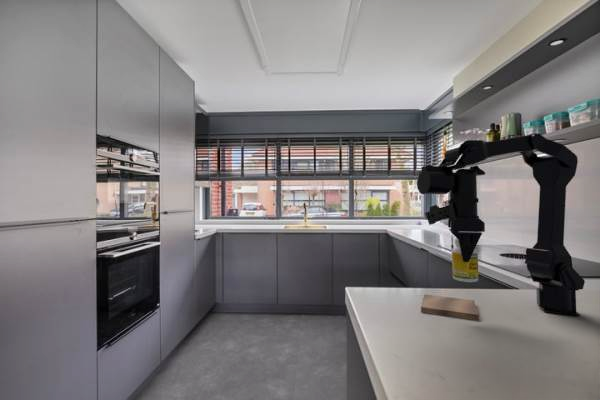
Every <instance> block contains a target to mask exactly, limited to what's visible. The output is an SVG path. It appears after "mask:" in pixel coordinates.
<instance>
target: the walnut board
mask: <svg viewBox="0 0 600 400" xmlns="http://www.w3.org/2000/svg"><path fill="white" fill-rule="evenodd" d="M420 312H421V313H425V312H429V313H428V314H432V313H435V314H434V315H439V314H440V316H448V317H455V318H461V319H462V318H463V319H467V320H475V321H479V312H478V309H477V306H476V302H475V300H474V299H468V298H460V297H459V298H458V297H449V296H442V295H441V296H440V295H433V294H424V295H423V298H422V300H421V305H420Z"/></svg>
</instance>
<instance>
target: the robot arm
mask: <svg viewBox="0 0 600 400" xmlns="http://www.w3.org/2000/svg"><path fill="white" fill-rule="evenodd" d="M534 150H536V151H537V152H540V154H537V153H535V152H534ZM515 153H519V154H521V155H522V159H523V162H524V163H525V164H526V165H528V166H529V167H530V168H531V169H532V176H533V178H534V180H535V181H536V182H537V184H538V186H539V200H538V220H537V221H538V222H537V238H536V243H535V244H534V245H533V247H532V248H531V247H527V248H526V249H525V261H524V264H526V269H527V271H528V272H529V274H530V278H531V280H532V282H534V283H538V287H537V288H536V305H537V306H539V308H540V309H541V310H542V311H543V313H544V312H546V313H551V314H559V315H567V316H573V317H574V316H575V317H579V316H580V315H581V314H580V312H578V311H577V297H576V296H577V294H576V293H577V292H576V291H579V290H583V289H584V286H585V283H586V280H585V279H584V278H583V277H582V276H581V275H580V274H579V273H578V272H577V270H576V269H574V268H573V258H572V256H571V254H570V252H569V251H568V250H567V248H566V246H565V245H564V240H565V238H564V237H565V217H566V200H567V199H566V198H567V197H566V196H567V186H568V184H570V182H571V181H572V180H573V179H574V178H575V176H576V174H577V173H576V172H577V168H578V163H579V161H578V155H577V154H575V153H574V152H573V151H572V150H571V149H570V148H568V147H567V146H566V145H565V144H562V143H560V142H556V141H554V140H551V139H548V138H546V137H545V136H543V135H542V134H541V133H536V132H533V133H530V134H525V135H521V136H516V137H511V138H509V137H508V138H503V139H498V140H492V141H485V140H481V139H467V140H464V141H462V142H459V143H456V144H453V145H450V146H448V147H447V148H446V149H445V151H444V157H443V158H442V160H441V161H440V162H439V164H438V165H432V164H426V165H423V166H422V167H421V172H419V174H418V177H417V181H416V188H417V190H418V192H419V193H420V194H421V195H447V194H449V200H447V205H444V206H441V207H440V206H438V205H436V204H434V205H432V206H429V211H427V212H424V215H425V217H426V220H427V221H428V224H429V226H431V225H434V224H436V223H437V222H441V221H443V220H447V227H448V228H449V229H448V230H449V232H451V234H452V235H453V236H454V237H455V239H458V241H459V245H460V250H461V254H462V258H463V261H464V262H469V260H470V258H471V256H472V254H473V251H474V249H476V247H477V245H478V243H479V240H480V239H481V236H482V235H483V233H485V232H486V229H485V227H486V224H485V222H484V221H483V220H482V219H481V218H480V216H479V215H478V203H479V197H478V189H477V188H478V186H477V183H478V181H477V180H478V179H477V177H479V176H480V177H481V176H485V175H486V172H485V171H484V170H483V169H481V168H480V167H479V166H478V165H475V164H477V163H481V162H483V161H486V160H487V159H489V158H494V157H500V156H505V155H510V154H515ZM471 165H472V166H471ZM467 166H470V167H469V168H465V167H467ZM453 170H454V171H455V170H456V171H455V172H454V171H453Z"/></svg>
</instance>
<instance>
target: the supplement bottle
mask: <svg viewBox="0 0 600 400" xmlns="http://www.w3.org/2000/svg"><path fill="white" fill-rule="evenodd" d="M454 245H455V246H453V248H452V249H451V262H452V278H453V280H455V281H458V282H465V283H473V282H474V283H475V282H479V254H478V250H477V248H475V249H474V251H473V254H472V256H471V258H470V260H469V262H464V261H463V258H462V254H461V250H460V245H459V241H458V239H456V238H455V239H454Z"/></svg>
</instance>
